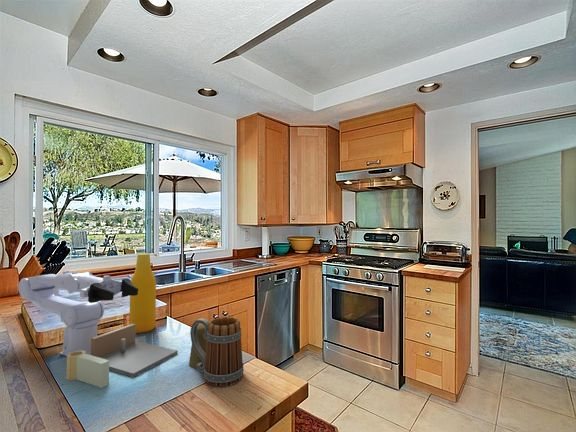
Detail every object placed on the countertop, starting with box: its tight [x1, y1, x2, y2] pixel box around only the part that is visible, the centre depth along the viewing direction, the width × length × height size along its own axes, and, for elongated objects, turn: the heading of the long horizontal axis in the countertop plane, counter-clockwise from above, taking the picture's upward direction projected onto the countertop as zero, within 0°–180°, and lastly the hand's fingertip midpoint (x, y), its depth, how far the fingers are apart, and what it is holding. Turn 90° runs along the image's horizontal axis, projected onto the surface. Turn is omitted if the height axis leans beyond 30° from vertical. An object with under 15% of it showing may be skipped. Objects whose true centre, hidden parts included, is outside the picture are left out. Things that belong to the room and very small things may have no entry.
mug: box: [189, 316, 245, 388], centre depth 83 cm, size 16×11×15 cm
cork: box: [188, 324, 207, 369], centre depth 90 cm, size 6×6×11 cm
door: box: [66, 350, 110, 389], centre depth 80 cm, size 14×4×6 cm, turn 66°
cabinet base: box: [91, 324, 178, 378], centre depth 93 cm, size 20×16×7 cm
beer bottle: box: [128, 253, 157, 334], centre depth 118 cm, size 9×9×29 cm
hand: (125, 293), depth 88 cm, fingers open, 7 cm apart
